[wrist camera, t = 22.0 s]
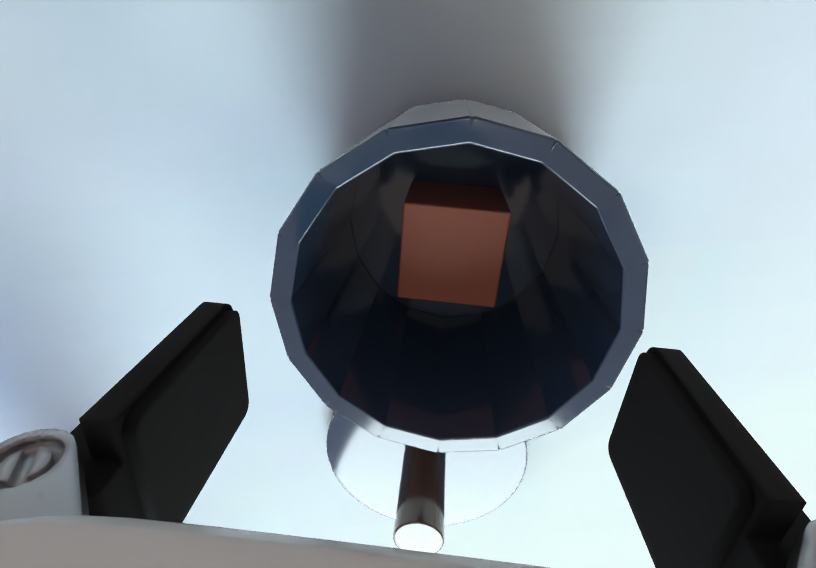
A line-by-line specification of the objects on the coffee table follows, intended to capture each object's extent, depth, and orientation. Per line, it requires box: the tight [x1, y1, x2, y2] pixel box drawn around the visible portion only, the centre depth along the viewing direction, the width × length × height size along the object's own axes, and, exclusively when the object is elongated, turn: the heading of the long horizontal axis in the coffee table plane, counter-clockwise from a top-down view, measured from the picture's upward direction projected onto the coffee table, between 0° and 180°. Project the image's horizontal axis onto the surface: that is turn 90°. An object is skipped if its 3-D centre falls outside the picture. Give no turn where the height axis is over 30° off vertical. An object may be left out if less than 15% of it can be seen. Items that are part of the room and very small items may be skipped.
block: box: [397, 180, 511, 307], centre depth 20 cm, size 4×4×4 cm
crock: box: [270, 99, 648, 453], centre depth 18 cm, size 11×11×10 cm
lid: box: [327, 412, 527, 553], centre depth 26 cm, size 12×12×7 cm
